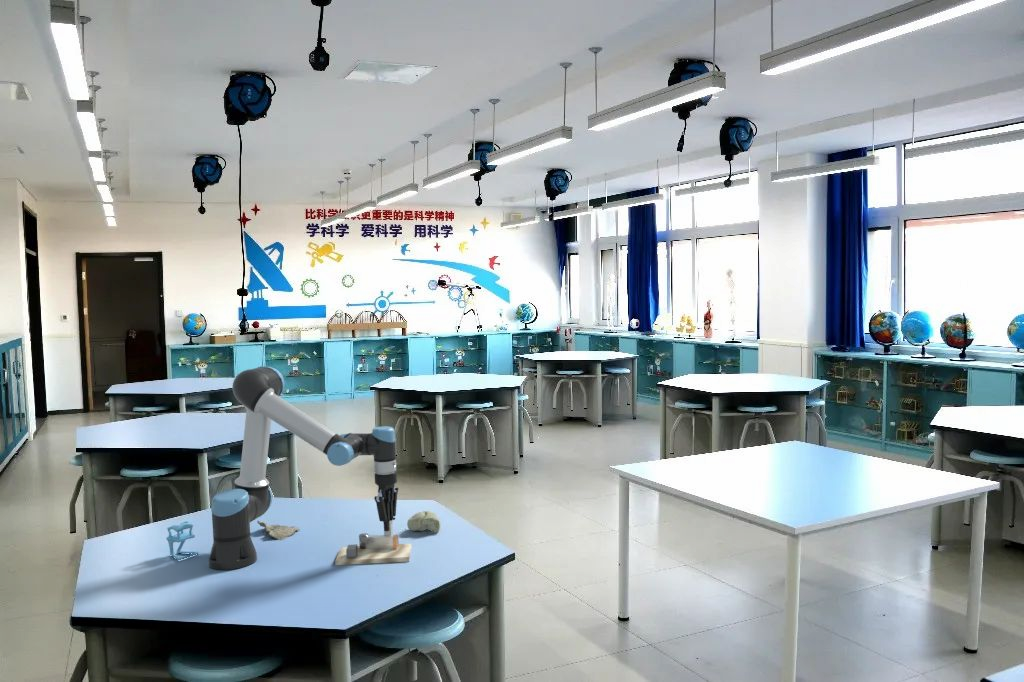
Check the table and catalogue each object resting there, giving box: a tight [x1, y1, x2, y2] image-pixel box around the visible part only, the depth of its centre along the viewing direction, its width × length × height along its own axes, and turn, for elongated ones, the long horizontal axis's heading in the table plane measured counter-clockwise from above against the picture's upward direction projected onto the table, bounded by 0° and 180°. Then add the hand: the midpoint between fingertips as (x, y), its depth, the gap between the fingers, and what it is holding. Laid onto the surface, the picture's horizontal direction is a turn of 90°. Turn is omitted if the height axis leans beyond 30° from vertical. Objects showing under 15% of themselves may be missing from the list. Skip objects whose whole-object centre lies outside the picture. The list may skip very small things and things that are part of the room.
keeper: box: [346, 544, 359, 559], centre depth 255 cm, size 3×5×3 cm, turn 4°
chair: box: [165, 521, 199, 561], centre depth 263 cm, size 8×8×12 cm
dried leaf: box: [257, 520, 300, 541], centre depth 287 cm, size 18×16×5 cm
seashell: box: [406, 510, 441, 534], centre depth 285 cm, size 13×8×10 cm
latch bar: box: [358, 532, 400, 549], centre depth 262 cm, size 13×3×4 cm, turn 82°
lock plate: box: [334, 543, 412, 566], centre depth 258 cm, size 24×14×2 cm, turn 94°
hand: (388, 539), depth 264 cm, fingers closed
